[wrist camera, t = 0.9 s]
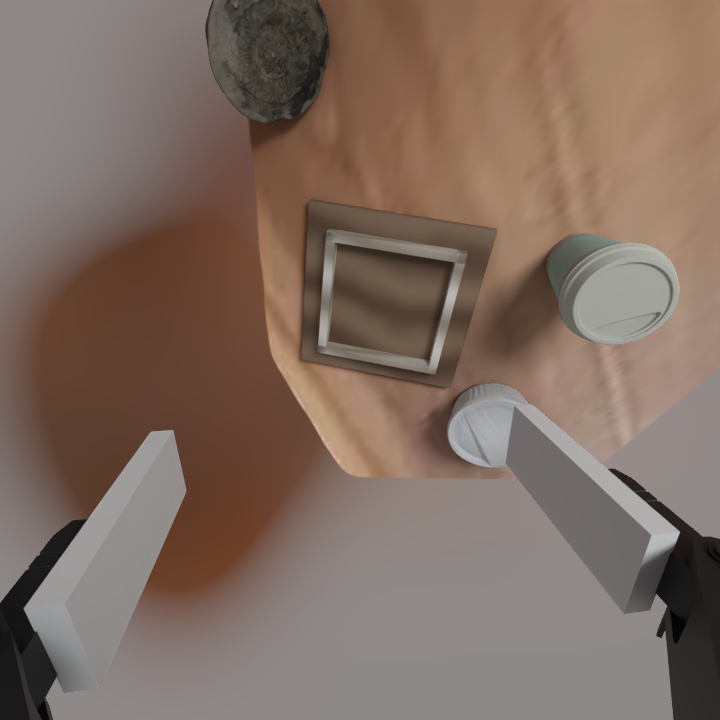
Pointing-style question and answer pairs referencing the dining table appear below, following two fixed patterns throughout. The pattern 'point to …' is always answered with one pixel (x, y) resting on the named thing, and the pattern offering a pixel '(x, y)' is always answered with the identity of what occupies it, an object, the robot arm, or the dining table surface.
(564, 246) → the coffee cup
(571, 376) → the dining table surface
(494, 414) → the ramekin
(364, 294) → the locating board
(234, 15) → the fossil
